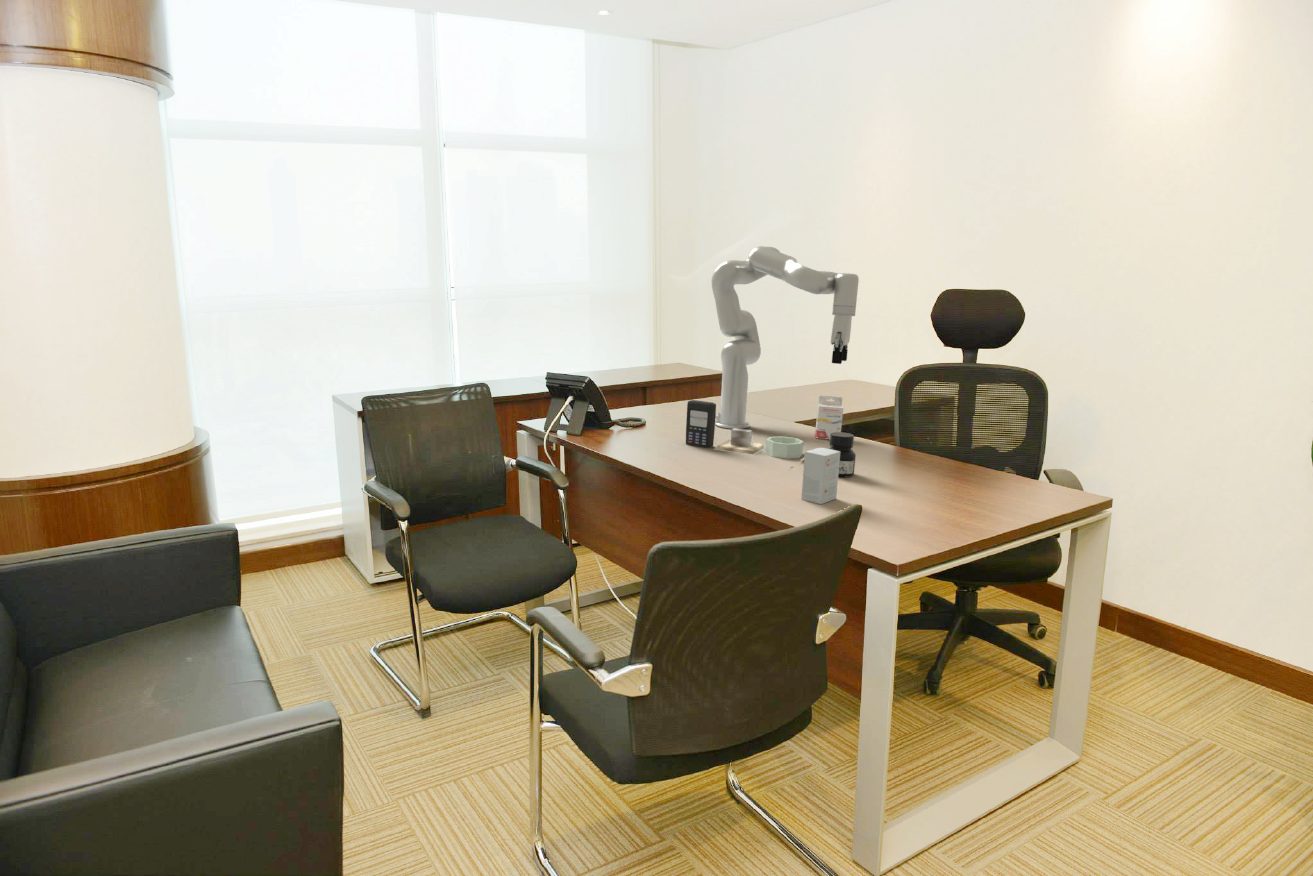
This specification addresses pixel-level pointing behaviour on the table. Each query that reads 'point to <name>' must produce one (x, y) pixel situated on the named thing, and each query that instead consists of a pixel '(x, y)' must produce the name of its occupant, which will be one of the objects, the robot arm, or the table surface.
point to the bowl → (784, 447)
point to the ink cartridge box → (829, 416)
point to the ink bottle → (844, 452)
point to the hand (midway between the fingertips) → (839, 361)
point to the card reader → (700, 423)
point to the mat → (743, 453)
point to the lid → (740, 442)
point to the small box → (820, 475)
